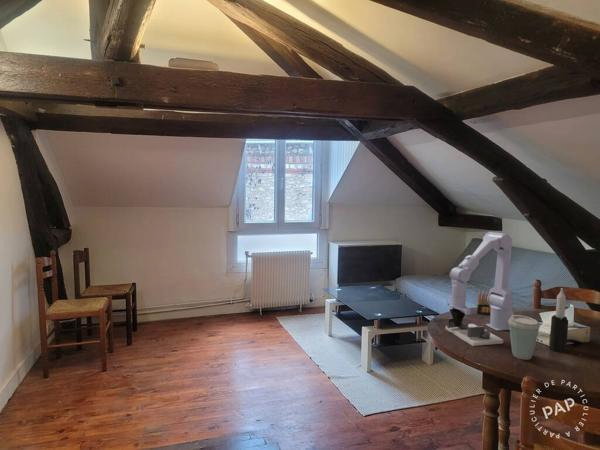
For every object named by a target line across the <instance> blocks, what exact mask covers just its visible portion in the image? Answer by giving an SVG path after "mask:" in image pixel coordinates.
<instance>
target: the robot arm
mask: <svg viewBox="0 0 600 450" xmlns="http://www.w3.org/2000/svg"><path fill="white" fill-rule="evenodd" d="M512 245H513V238H512V237H511V236H510V234H508V233H501V232H495V231H488V232H487V233H485V235H484V236H482V241H481V243H480V244H479V246H478V247H477V248H476V250H474V252H473V253H472V254H468V255H466V256H465V257H464V259H463V261H461V262H460V263H459V264H458V266H456V267H453V268H452V269H451V270H450V273H449V274H448V275H449V277H450V279H451V280H450V281H451V300H447V301H446V306H447V307H449V308H450V309H449V312H450V314H451V318H453V321H454V325H455V326H456V327H458V326H461V323H462V320H463V321H464V317H465V316H467V315H468V316H469V315H471V309H470V308H468V307H467V306H466V301H467V299H466V298H467V282H469V281H470V279H471V275H472V272H474V270H475V269H476V268H477V267H478V266H479V265H480V260H481V259H482V258H483V257H484V256H485V255H486V254H487V253H488V252H489V251H490V250H494V251H496V253H497V256H496V257H497V258H496V265H495V266H496V267H495V277H494V286H492V287H491V288H490V289H489V291H488V293H489V295H488V297H487V302H488V304H489V305H490V307H491V315H489V316H490V319H489V323H485V326H487V327H489V328H490V329H493V330H494V331H497V332H498V331H510V328H509V323H508V321H509V319H510V316H512V315H515V312H514V311H513V309H512V307H513V305H514V299H513V293H512V291H510V290H509V288H508V285H509V278H510V277H509V276H510V269H511V268H510V265H511V258H512Z"/></svg>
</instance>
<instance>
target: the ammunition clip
mask: <svg viewBox="0 0 600 450" xmlns="http://www.w3.org/2000/svg"><path fill="white" fill-rule="evenodd" d="M488 295H489V291H488V290H487V291H486V293H485V291H484V290H483V291H482V292H481V290H479V291H478V298H477V303H476V304H477V306H476V314H477V315H483V316H484V315H485V316H490V315H491V307H490V305H489V304H488V302H487V297H488Z"/></svg>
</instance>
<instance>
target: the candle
mask: <svg viewBox="0 0 600 450" xmlns="http://www.w3.org/2000/svg"><path fill="white" fill-rule="evenodd" d="M566 301H567V296H566V295H565V292H564V288H563V287H561V288H560V291H559V293H558V294H557V296H556V306H555V314H554V315H552V316H551V323H550V334H549V335H550V336H549V349H550V350H551V351H552V352H559V353H563V354H564V353H566V352H567V347H568V346H567V344H568V343H567V342H568V332H569V320H568V317H567V316H565V315H566V304H567V303H566Z"/></svg>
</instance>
